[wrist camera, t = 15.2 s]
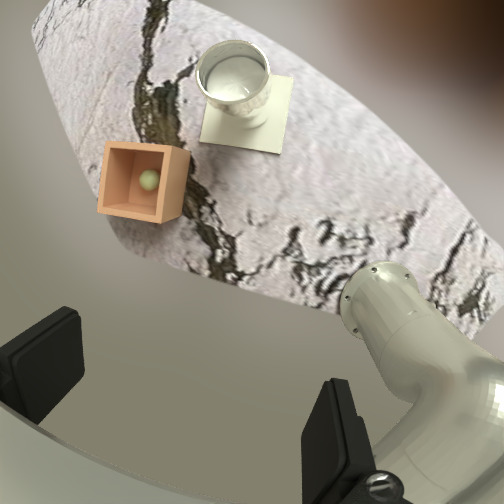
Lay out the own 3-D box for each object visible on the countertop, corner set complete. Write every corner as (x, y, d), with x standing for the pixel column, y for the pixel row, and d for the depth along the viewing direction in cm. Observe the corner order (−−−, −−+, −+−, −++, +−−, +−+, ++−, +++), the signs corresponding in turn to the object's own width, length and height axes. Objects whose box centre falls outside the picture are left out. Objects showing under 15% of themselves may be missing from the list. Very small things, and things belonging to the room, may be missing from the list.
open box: (191, 151, 40) (172, 145, 32) (181, 215, 42) (160, 223, 35) (133, 145, 40) (105, 140, 33) (125, 206, 43) (97, 212, 35)
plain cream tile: (293, 78, 37) (293, 77, 36) (280, 154, 39) (280, 153, 39) (214, 68, 37) (214, 67, 37) (200, 141, 40) (199, 141, 39)
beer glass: (228, 138, 39) (202, 116, 24) (216, 92, 38) (186, 50, 23) (279, 125, 38) (281, 95, 23) (266, 79, 37) (260, 30, 22)
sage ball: (165, 170, 40) (157, 169, 37) (162, 191, 41) (154, 192, 38) (146, 167, 40) (137, 167, 37) (143, 188, 41) (134, 189, 38)
